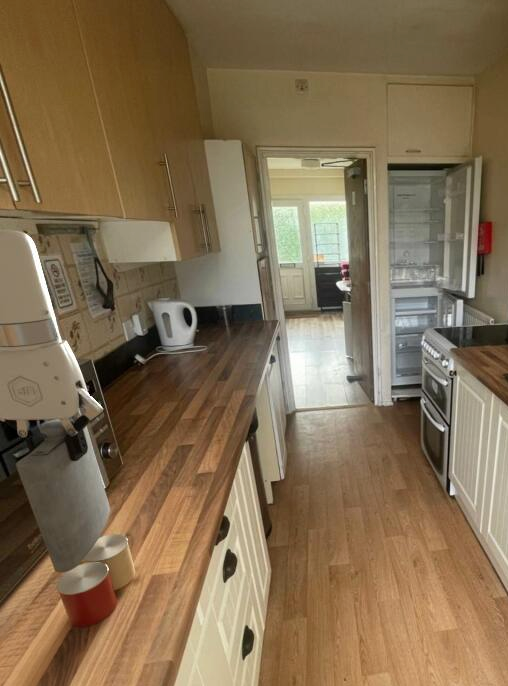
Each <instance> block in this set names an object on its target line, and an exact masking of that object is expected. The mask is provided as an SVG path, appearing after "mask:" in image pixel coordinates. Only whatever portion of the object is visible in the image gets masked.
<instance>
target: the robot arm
mask: <svg viewBox="0 0 508 686" xmlns="http://www.w3.org/2000/svg"><path fill="white" fill-rule="evenodd" d="M50 297H51V296H50V294H49V291H48V287H47V282H46V279H45V275H44V272H43V269H42V265H41V261H40V258H39V254H38V251H37V248H36V244H35V242H34V240H33V239H32V238H31V237H30V235H29V234H27V233H26V232H23V231H20V230H14V229H0V422H3V423H4V422H5V424H6V425H7V426H8V427H10V428H11V429H14V430H15V431H17V435H18V436H19V437H21V438H24V439H25V442H26V445H27V448H28V451H29V454H30V453H31V452H32V451H34V450H35V449H36V448H37V447H38V446H39V445H40V444H41V443H42V442H43V441H45V440H44V437H43V433H41V432H40V429H39V425H41V423H40V421H42V420H43V421H46V420H47V421H51V420H55V419H59V420H60V421H61V423H62V425H63V427H64V428H65V430H66V432H67V434H68V435H67V436H65V438H64V439H65V443H66V445H67V448H68V452H69V455H70V458H71V460H72V461H78V460H79V459H80V458H81V457H82V456H83V455H85V454H86V453H87V450H88V445H87V441H86V438H85V434H84V431H83V429H84V428H85V427H86V426H87V427H88V425H89V423H90V422H91V421H92V420H93V419H95V418H96V417H98V416H99V415H100V414H101V413H103V412H104V408H103V407H102V406H101V404H99V403H98V402H97V401H96V400H95V399H94V398H93V397H92V396H90V394H89V391H88V388H87V384H86V382H85V379H84V375H83V373H82V370H81V368H80V366H79V362H78V360H77V359H76V356H75V354H74V353H73V350H72V349H71V347H70V345H69V343H68V341H67V340H66V339H62V337H61V334H60V331H59V327H58V326H59V325H58V323H57V318H56V316H55V312H54V308H53V305H52V301H51V298H50ZM83 408H84V410H85V412H84V413H83V414H82V413H81V411H80V409H83ZM71 418H72V419H71ZM72 420H73V421H72Z"/></svg>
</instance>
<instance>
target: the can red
mask: <svg viewBox="0 0 508 686" xmlns="http://www.w3.org/2000/svg"><path fill="white" fill-rule="evenodd" d="M56 582H57V583H56V590H57V592H58V594H59V596H60V600H61V601H62V602H61V603H62V605H63V607H64V609H65V613H66V615H67V618H68V620H69V623H70V625H72V626H74V627H77V628H84V627H85V628H86V627H91V626H94V625H96V624H99V623H100V622H103V621H104V620H105V619H107V618H108V617H110V615H111V614H113V612H114V611H115V609H116V608H117V604H118V599H117V595H116V593H115V591H114V589H113V586H112V582H111V579H110V576H109V572H108V567H107V565H106V564H104V563H101V562H90V563H85V562H84V563H82V564H79V565H78V566H77V567H75V568H74V569H72V570H70V571H67V572H64V573H63V575H61V576H60V578H59V579H58V581H56Z"/></svg>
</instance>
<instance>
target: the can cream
mask: <svg viewBox="0 0 508 686" xmlns="http://www.w3.org/2000/svg"><path fill="white" fill-rule="evenodd" d="M129 545H130V544H129V540H128V538H127V537H126V536H125V535H123V534H115V533H114V534H107V535H103V536H100V537H99V538H98V540H97V542H96V543H95V545H94V546H93V548H92V549H91V550H90V552H89V553H88V554H87V555H86V557H85V558H84V559H83V561H84V564H85V563H90V562H101V563H104V564H106V565H107V567H108V572H109V576H110V579H111V582H112V586H113V589H114V592H115V591H117V590H120V589H121V588H123V587H125V586H127V585H128V584H129V583H130V582H132V581H133V579H134V577H135V575H136V569H135V564H134V561H133V557H132V553H131V549H130V546H129Z"/></svg>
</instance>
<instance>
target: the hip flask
mask: <svg viewBox="0 0 508 686" xmlns="http://www.w3.org/2000/svg"><path fill="white" fill-rule="evenodd" d="M71 419H72V418H71ZM72 421H73V420H72ZM39 429H40V432H41V433H43V437H44V440H45V441H43V442H42V443H41V444H40V445H39V446H38V447H37V448H36V449H35V450H34V451H32V452H31V453H30V452H29V453H28V454H26V456H24V457H22V458H21V459H19V460H18V461H17V462H16V463H15V467H16V469H17V472H18V475H19V477H20V480H21V483H22V486H23V488H24V491H25V494H26V496H27V500H28V502H29V505H30V507H31V511H32V512H33V515H34V518H35V521H36V523H37V526H38V529H39V531H40V534H41V537H42V540H43V542H44V545H45V547H46V551H47V553H48V556H49V558H50V561H51V564H52V567H53V569H54V571H55V572H56V573H66V572H68V571H70V570H72V569H74V568H75V567H77V566H79V565H81V563H82V562H83V561H84V558H85V557H86V555H87V554H88V553H89V552H90V550H91V549H92V548H93V546H94V545H95V543H96V542H97V540H98V538H100V537H101V534H102V533H103V532H104V529H105V527H106V525H107V523H108V520H109V517H110V513H111V506H110V504H109V500H108V496H107V492H106V490H105V485H104V482H103V479H102V475H101V472H100V468H99V464H98V461H97V457H96V454H95V450H94V447H93V443H92V440H91V436H90V432H89V430H88V425H87V426H86V427H85V428H84V429H83V431H84V434H85V438H86V441H87V445H88V450H87V453H86V454H85V455H83V456H82V457H81V458H80V459H79V460H78V461H72V460H71V458H70V455H69V452H68V448H67V445H66V443H65V439H64V438H65V436H67V435H68V434H67V432H66V430H65V428H64V427H63V425H62V423H61V421H60V420H59V419H52V420H47V421H45V422H42V423H40V425H39Z"/></svg>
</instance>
